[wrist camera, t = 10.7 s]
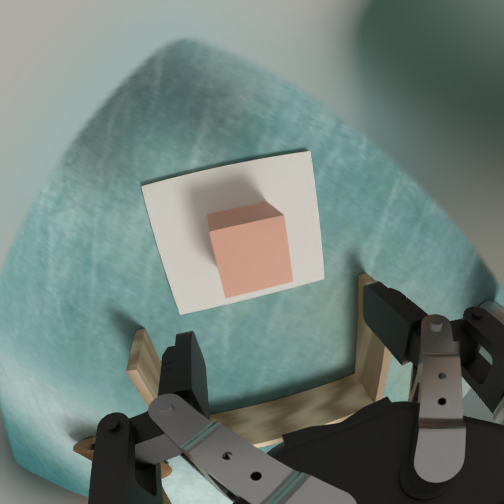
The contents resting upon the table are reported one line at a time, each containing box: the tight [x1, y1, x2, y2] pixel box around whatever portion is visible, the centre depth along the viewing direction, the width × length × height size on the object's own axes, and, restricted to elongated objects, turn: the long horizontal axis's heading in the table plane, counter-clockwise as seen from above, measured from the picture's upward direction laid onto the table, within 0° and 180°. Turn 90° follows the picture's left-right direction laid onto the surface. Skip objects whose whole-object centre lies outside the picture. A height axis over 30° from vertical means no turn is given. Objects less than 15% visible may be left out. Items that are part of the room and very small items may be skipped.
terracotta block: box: [207, 202, 293, 298], centre depth 22 cm, size 5×5×5 cm
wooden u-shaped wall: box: [126, 273, 391, 448], centre depth 27 cm, size 24×16×6 cm, turn 100°
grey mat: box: [141, 151, 324, 315], centre depth 24 cm, size 14×12×1 cm
